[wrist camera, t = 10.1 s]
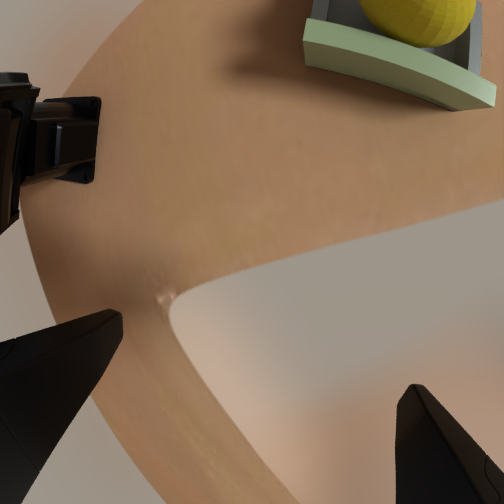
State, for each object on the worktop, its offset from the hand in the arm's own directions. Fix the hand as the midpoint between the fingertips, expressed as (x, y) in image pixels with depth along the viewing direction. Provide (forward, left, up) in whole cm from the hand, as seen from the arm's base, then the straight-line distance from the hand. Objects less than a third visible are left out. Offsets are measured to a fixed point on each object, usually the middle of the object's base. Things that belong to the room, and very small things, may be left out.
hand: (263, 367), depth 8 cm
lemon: (+3, +15, -11) cm, 19 cm away
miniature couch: (+3, +14, -12) cm, 19 cm away
